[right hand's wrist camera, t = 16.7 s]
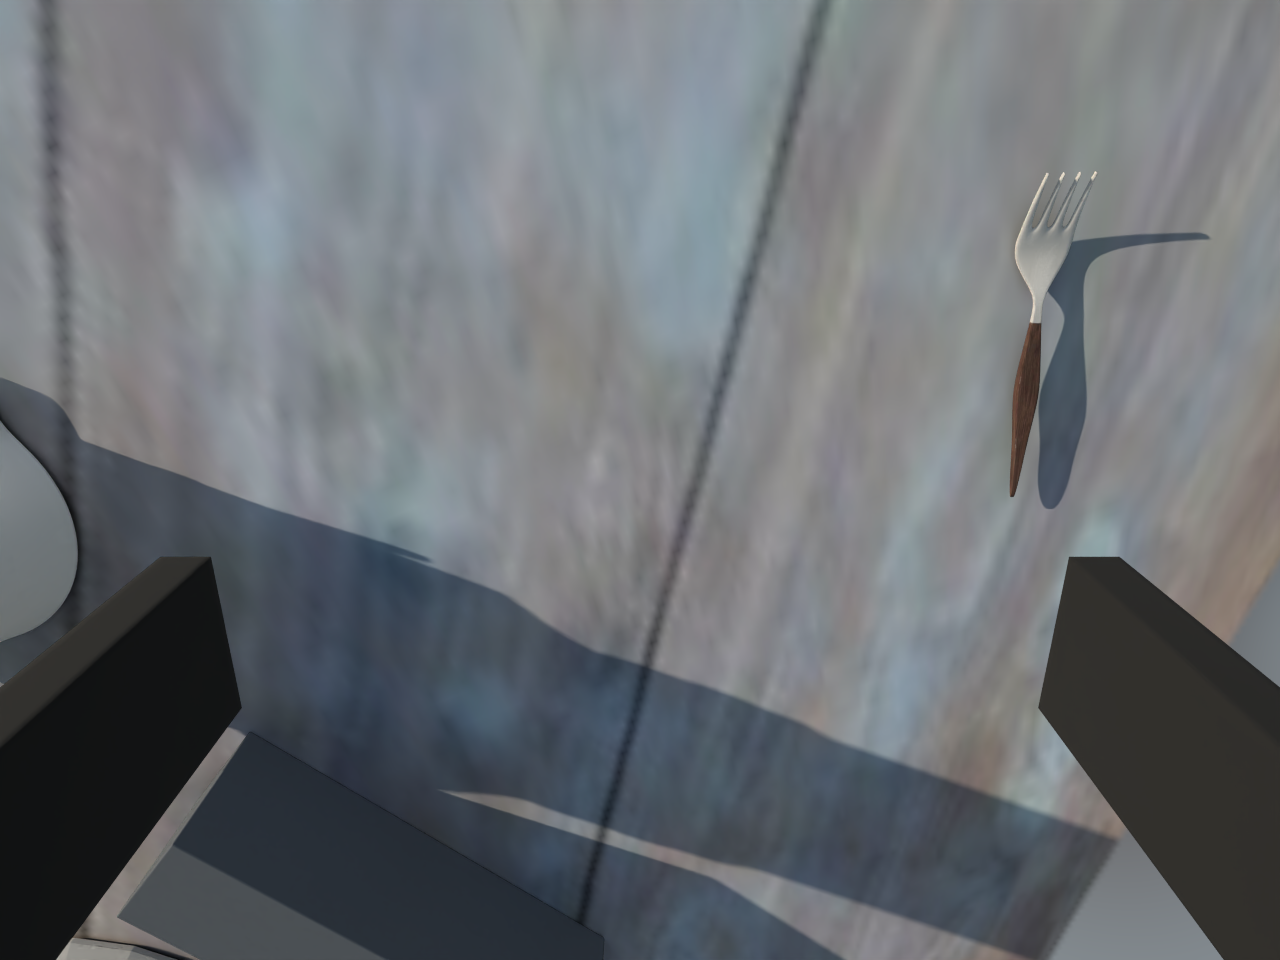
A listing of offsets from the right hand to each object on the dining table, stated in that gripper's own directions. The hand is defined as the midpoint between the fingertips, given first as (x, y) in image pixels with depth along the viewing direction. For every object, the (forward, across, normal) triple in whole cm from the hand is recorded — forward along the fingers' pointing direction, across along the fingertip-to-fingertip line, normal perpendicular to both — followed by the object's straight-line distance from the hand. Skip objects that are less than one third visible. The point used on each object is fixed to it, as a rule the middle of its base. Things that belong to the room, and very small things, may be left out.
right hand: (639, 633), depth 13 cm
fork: (+30, +19, -1) cm, 35 cm away
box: (+30, -15, -36) cm, 49 cm away
